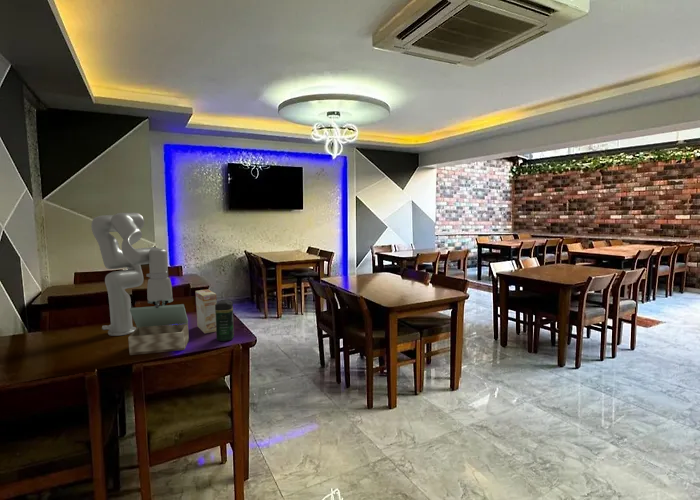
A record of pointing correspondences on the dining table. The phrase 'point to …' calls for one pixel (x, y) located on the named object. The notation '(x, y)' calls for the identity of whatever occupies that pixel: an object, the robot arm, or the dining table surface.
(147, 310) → the lid
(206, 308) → the coffeecake box
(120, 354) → the dining table surface
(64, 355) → the dining table surface
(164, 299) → the robot arm
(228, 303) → the coffee jar
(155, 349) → the chest
